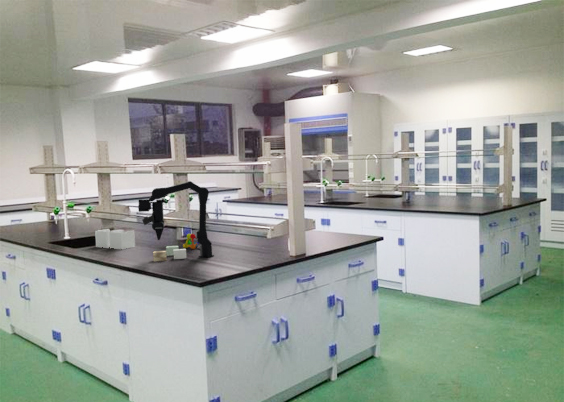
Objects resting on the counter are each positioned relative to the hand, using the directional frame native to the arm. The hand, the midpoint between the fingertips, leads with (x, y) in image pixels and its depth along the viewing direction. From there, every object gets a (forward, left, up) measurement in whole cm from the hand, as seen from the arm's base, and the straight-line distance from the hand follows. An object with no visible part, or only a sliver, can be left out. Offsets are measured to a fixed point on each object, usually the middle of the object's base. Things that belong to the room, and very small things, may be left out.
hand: (158, 238), depth 276 cm
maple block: (0, 0, -12) cm, 12 cm away
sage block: (+7, -14, -12) cm, 20 cm away
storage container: (+63, -11, -13) cm, 66 cm away
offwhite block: (-5, -10, -12) cm, 17 cm away
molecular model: (+15, -35, -12) cm, 40 cm away
